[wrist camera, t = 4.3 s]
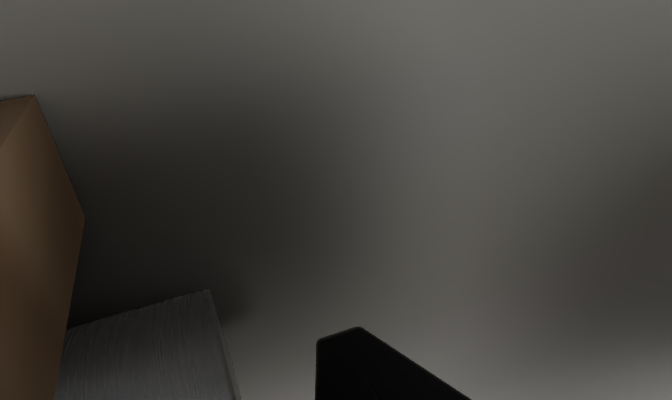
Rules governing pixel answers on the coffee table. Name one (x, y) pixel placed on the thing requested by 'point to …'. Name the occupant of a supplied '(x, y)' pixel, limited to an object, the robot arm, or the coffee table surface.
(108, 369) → the axle
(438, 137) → the coffee table surface
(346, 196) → the coffee table surface
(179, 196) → the coffee table surface
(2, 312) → the tunnel block
